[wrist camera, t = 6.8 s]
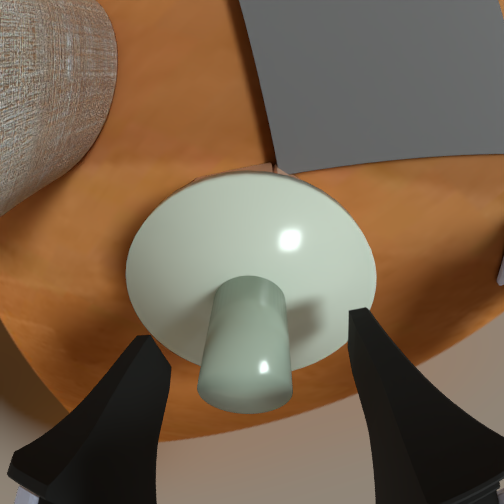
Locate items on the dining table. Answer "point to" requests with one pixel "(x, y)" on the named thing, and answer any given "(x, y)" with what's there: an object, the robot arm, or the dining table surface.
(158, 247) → the lid
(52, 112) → the planter
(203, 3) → the dining table surface
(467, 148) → the mat
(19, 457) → the robot arm
